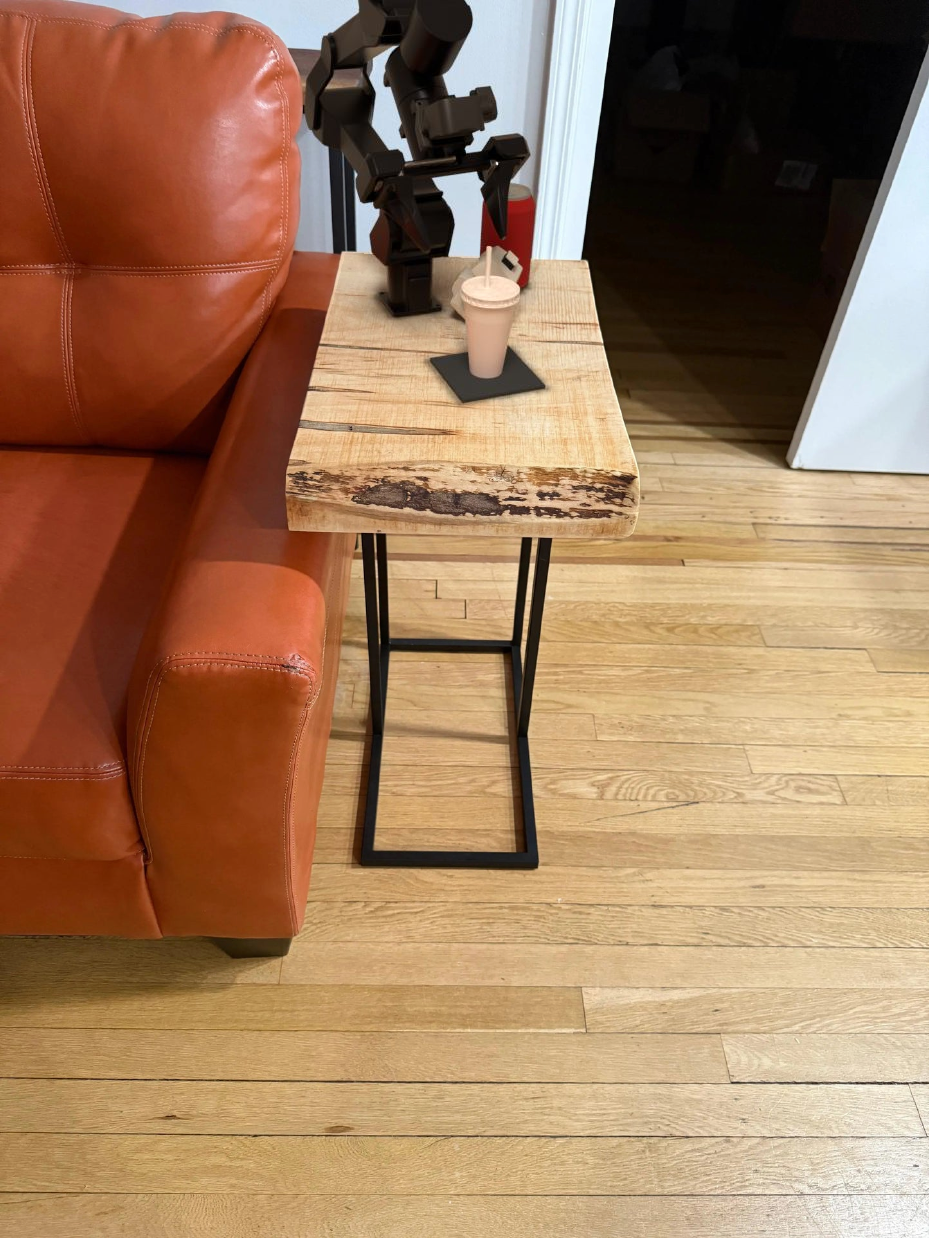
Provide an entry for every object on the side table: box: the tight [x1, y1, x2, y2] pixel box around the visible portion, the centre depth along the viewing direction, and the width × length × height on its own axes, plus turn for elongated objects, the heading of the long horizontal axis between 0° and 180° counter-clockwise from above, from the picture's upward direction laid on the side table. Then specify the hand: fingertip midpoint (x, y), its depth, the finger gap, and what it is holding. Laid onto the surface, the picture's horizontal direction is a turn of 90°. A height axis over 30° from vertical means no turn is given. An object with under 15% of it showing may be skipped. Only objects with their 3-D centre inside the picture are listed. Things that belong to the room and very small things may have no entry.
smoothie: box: [461, 246, 521, 378], centre depth 99 cm, size 6×6×14 cm
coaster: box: [429, 345, 546, 403], centre depth 104 cm, size 10×10×1 cm
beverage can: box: [479, 182, 537, 289], centre depth 119 cm, size 7×7×12 cm
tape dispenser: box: [449, 246, 523, 320], centre depth 112 cm, size 6×7×10 cm
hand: (466, 244), depth 99 cm, fingers open, 9 cm apart
